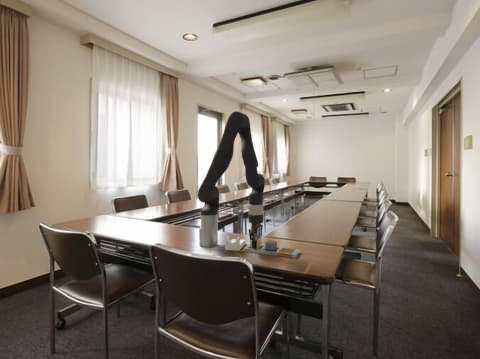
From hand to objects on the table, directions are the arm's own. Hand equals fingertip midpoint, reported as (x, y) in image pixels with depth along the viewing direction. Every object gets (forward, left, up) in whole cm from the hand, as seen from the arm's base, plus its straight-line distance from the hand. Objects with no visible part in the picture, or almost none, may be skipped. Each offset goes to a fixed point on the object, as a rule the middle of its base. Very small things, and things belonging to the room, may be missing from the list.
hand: (256, 246), depth 139 cm
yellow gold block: (0, 0, -2) cm, 2 cm away
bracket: (-12, +1, -3) cm, 13 cm away
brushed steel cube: (+8, 0, -2) cm, 8 cm away
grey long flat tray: (+8, 0, -3) cm, 8 cm away
